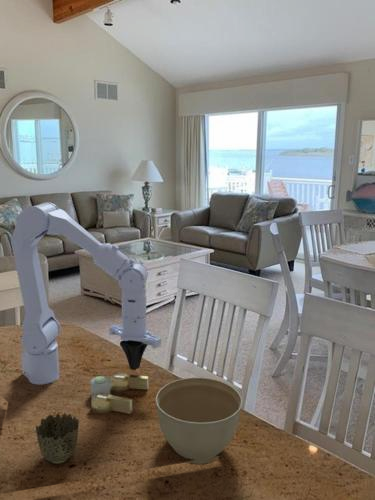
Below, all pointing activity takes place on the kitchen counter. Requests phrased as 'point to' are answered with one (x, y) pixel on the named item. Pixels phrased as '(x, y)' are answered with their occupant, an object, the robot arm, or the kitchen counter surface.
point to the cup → (57, 437)
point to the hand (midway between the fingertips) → (134, 368)
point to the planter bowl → (198, 417)
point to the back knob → (128, 382)
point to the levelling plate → (100, 385)
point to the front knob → (110, 403)
